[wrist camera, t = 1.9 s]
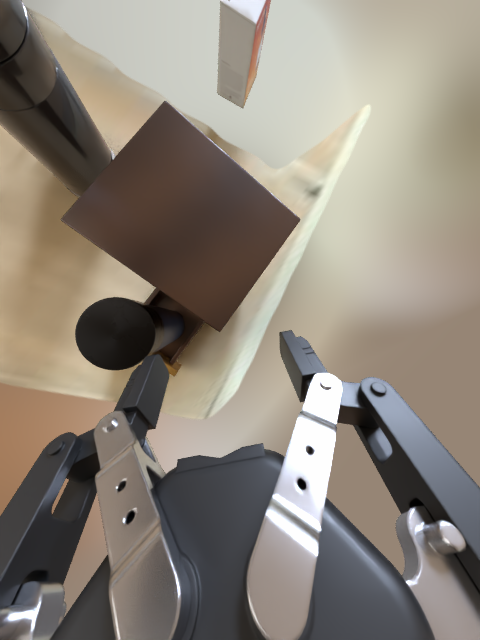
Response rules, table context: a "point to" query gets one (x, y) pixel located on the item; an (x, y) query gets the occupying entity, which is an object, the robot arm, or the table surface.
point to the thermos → (125, 332)
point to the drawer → (178, 346)
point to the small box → (240, 46)
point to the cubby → (184, 217)
